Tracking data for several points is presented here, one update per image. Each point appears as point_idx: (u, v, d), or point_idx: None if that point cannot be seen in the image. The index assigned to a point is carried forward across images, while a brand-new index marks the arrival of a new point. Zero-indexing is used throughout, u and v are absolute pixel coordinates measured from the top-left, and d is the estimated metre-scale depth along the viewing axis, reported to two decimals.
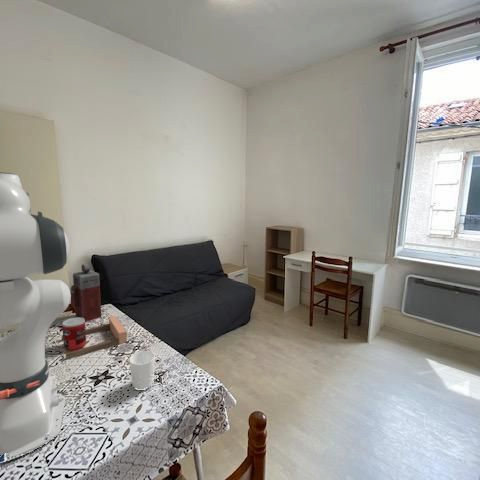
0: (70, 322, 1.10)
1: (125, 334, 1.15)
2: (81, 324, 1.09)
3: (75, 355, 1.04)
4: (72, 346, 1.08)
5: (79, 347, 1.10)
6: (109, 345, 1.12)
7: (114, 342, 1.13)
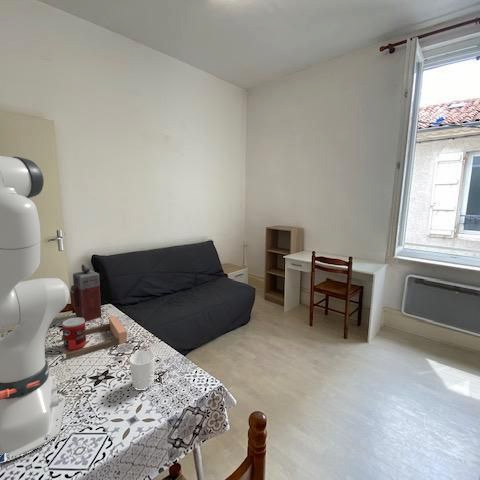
0: (70, 322, 1.10)
1: (125, 334, 1.15)
2: (81, 324, 1.09)
3: (75, 355, 1.04)
4: (72, 346, 1.08)
5: (79, 347, 1.10)
6: (109, 345, 1.12)
7: (114, 342, 1.13)
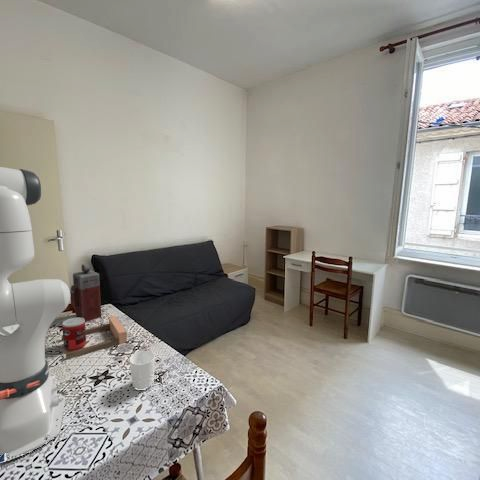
0: (70, 322, 1.10)
1: (125, 334, 1.15)
2: (81, 324, 1.09)
3: (75, 355, 1.04)
4: (72, 346, 1.08)
5: (79, 347, 1.10)
6: (109, 345, 1.12)
7: (114, 342, 1.13)
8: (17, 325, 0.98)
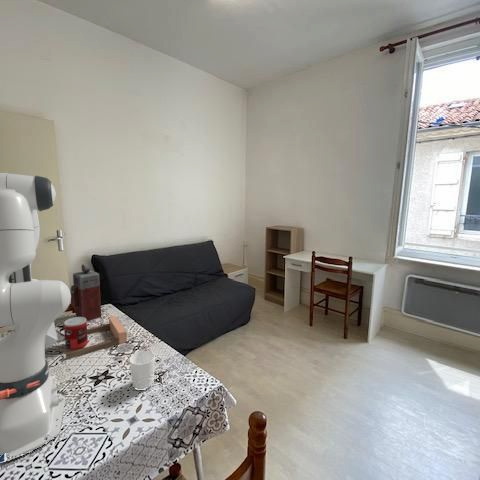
0: (72, 321, 1.10)
1: (125, 334, 1.15)
2: (83, 324, 1.09)
3: (75, 355, 1.04)
4: (73, 345, 1.08)
5: (81, 346, 1.10)
6: (109, 345, 1.12)
7: (114, 342, 1.13)
8: (51, 327, 1.04)
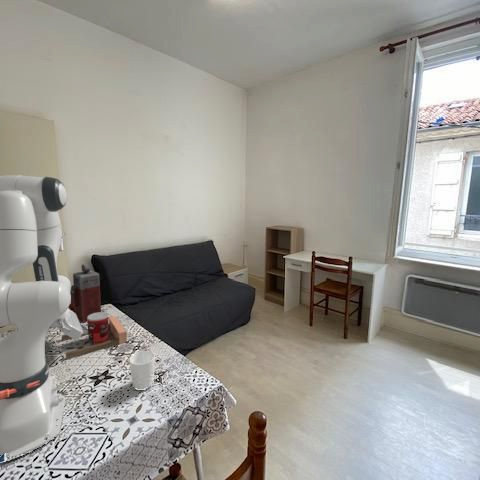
0: (94, 316, 1.15)
1: (125, 334, 1.15)
2: (105, 318, 1.15)
3: (75, 355, 1.04)
4: (96, 339, 1.13)
5: (103, 340, 1.15)
6: (109, 345, 1.12)
7: (114, 342, 1.13)
8: (76, 321, 1.09)
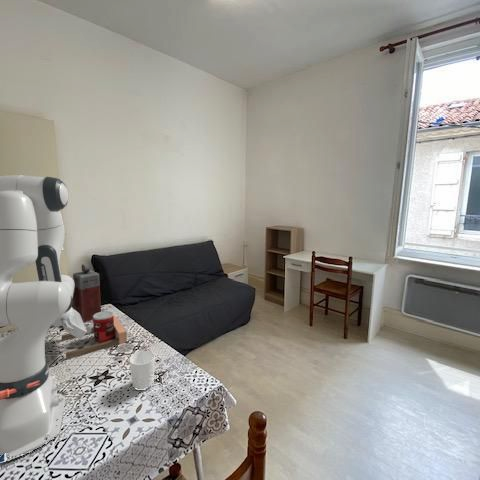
0: (100, 315, 1.16)
1: (125, 334, 1.15)
2: (110, 317, 1.16)
3: (75, 355, 1.04)
4: (102, 337, 1.15)
5: (108, 339, 1.16)
6: (109, 345, 1.12)
7: (114, 342, 1.13)
8: (79, 321, 1.10)
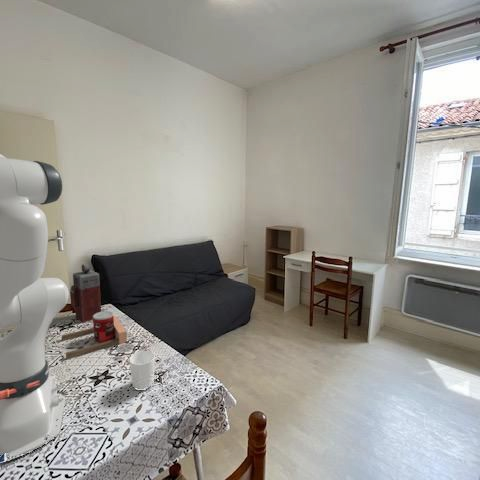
0: (100, 315, 1.16)
1: (125, 334, 1.15)
2: (110, 317, 1.16)
3: (75, 355, 1.04)
4: (102, 337, 1.15)
5: (108, 339, 1.16)
6: (109, 345, 1.12)
7: (114, 342, 1.13)
8: None
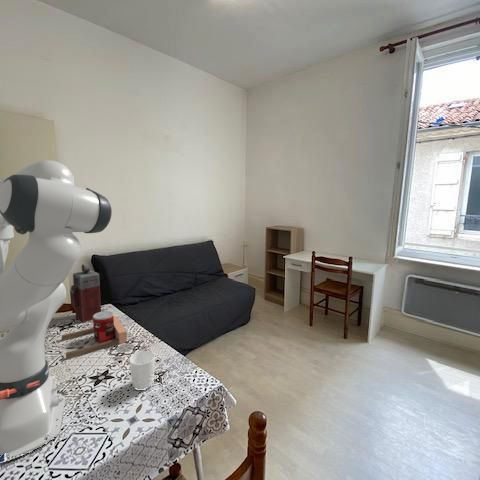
0: (100, 315, 1.16)
1: (125, 334, 1.15)
2: (110, 317, 1.16)
3: (75, 355, 1.04)
4: (102, 337, 1.15)
5: (108, 339, 1.16)
6: (109, 345, 1.12)
7: (114, 342, 1.13)
8: (5, 253, 0.91)
